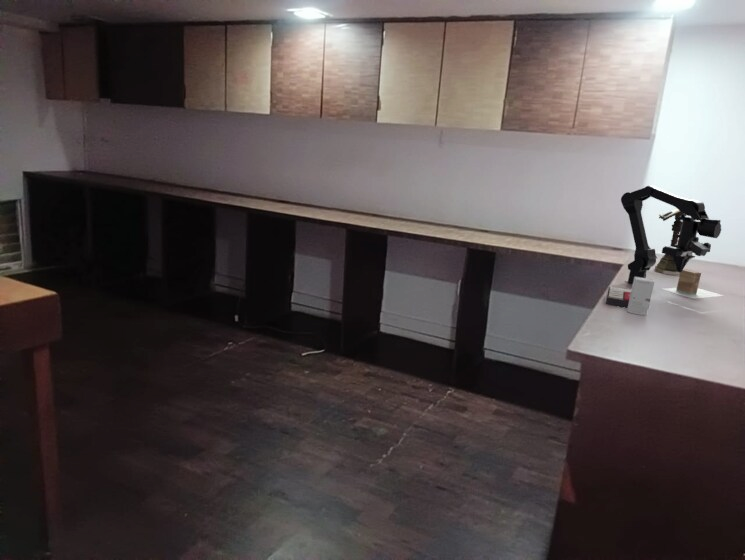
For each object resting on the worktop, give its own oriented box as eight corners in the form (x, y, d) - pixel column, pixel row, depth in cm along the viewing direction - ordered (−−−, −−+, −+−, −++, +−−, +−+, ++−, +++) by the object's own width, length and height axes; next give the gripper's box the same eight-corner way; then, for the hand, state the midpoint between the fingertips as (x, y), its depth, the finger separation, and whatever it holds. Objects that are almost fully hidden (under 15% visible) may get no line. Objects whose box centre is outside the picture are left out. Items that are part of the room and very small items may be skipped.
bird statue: (644, 271, 266) (659, 196, 257) (642, 266, 278) (656, 194, 269) (683, 277, 261) (700, 201, 252) (679, 271, 273) (696, 198, 264)
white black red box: (607, 295, 203) (609, 284, 216) (605, 306, 204) (607, 295, 218) (640, 301, 199) (640, 290, 212) (638, 312, 200) (638, 300, 213)
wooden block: (689, 295, 226) (694, 273, 224) (676, 290, 231) (681, 269, 229) (696, 294, 228) (701, 272, 225) (682, 290, 233) (687, 269, 230)
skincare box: (628, 313, 196) (635, 279, 193) (626, 309, 200) (633, 276, 197) (647, 316, 194) (654, 281, 191) (645, 312, 198) (652, 278, 195)
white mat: (692, 299, 221) (692, 298, 221) (660, 289, 233) (661, 288, 233) (724, 296, 230) (724, 295, 230) (692, 287, 242) (692, 286, 242)
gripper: (691, 237, 209) (682, 278, 213) (723, 237, 217) (713, 276, 221) (665, 231, 218) (656, 271, 222) (696, 231, 227) (687, 269, 231)
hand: (679, 272), depth 224 cm, fingers closed
